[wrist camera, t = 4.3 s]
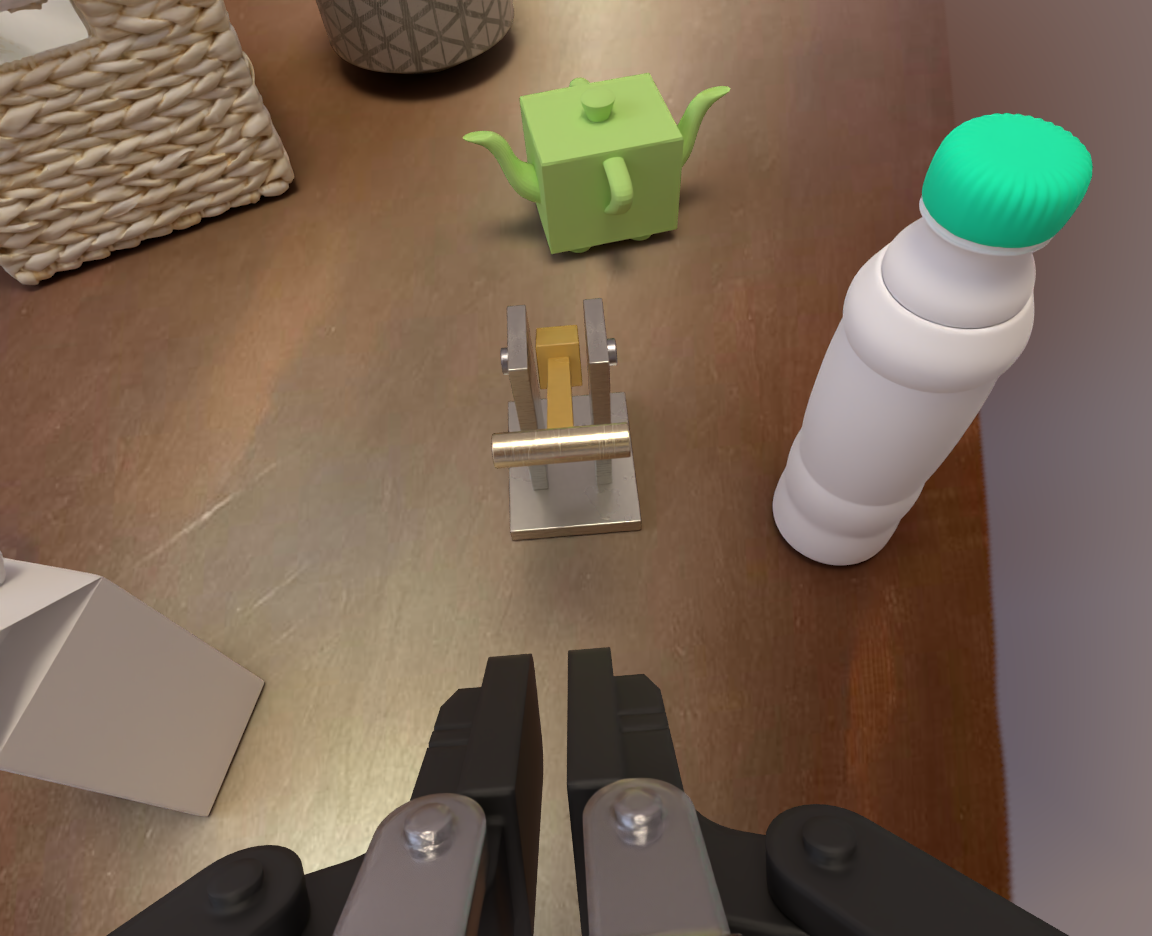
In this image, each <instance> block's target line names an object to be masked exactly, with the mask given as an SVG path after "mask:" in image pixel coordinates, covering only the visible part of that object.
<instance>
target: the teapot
mask: <svg viewBox="0 0 1152 936" xmlns="http://www.w3.org/2000/svg"><path fill="white" fill-rule="evenodd" d="M729 91H730V88H729V87H726V86H719V87H713V88H709V89H707V90H704V91H702V92H700V93H699V94H698V95H697V96H696V97H695V98H694V99H693V100H692V101H691V102H690V104H689V105H688V107H687V109H686V111H685V113H684V115H683V117H682V118H681V120H680V122H679V124H678V125H676V123H675V121H674V119H673V118H672V116H671V114H670V112H669V110H668V108H667V106H666V104H665V102H664V100H663V98H662V97H661V95H660V93H659V91H658V89H657V87H656V85H655V83H654V81H653V79H652V77H651V75H650V73H645V74H639V75H633V76H628V77H622V78H617V79H611V80H605V81H600V82H594V83H589V82H588V81H587V80H586V79H584V78H576V79H573V80H572V81H571V82H570V85H569V87H567V88H562V89H557V90H551V91H546V92H541V93H535V94H530V95H525V96H521V97H520V98H519V100H520V107H521V115H522V123H523V131H524V138H525V146H526V154H527V162H528V163H526V162H523V161H521V160H519V159H518V158H517V157H516V156H515V155H514V153H513V151H512V150H511V148H510V146H509V144H508V143H507V142H506V140H505V139H504V138H503V137H502V136H500V135H498V134H497V133H495V132H491V131H477V132H472V133H469V134H466V135H465V136H464V137H463V138H464V140H466V141H468V142H472V143H475V144H478V145H481V146H483V147H485V148H486V149H488V150H489V151H490V152H491V153H492V154H493V155H494V156H495V158H496V159H497V161H498V162H499V164H500V166H501V168H502V170H503V172H504V174H505V176H506V178H507V180H508V182H509V183H510V185H511V186H512V187H513V189H514V190H515V191H516V192H517V193H518V194H519V195H520V196H522V197H523V198H525V199H527V200H529V201H533V202H536V205H537V209H538V212H539V215H540V219H541V222H542V225H543V228H544V232H545V235H546V238H547V242H548V245H549V248H550V251H551V254H555V253H560V252H565V251H571V252H574V253H582V252H585V251H587V250H588V249H589V248H590V247H591V246H595V245H600V244H605V243H610V242H615V241H620V240H625V239H630V238H631V239H633V240H637V241H641V240H645V239H647V238H649V237H650V236H651V234H655V233H660V232H665V231H670V230H675V229H677V222H678V209H679V196H680V183H681V170H682V167H683V165H684V164H685V163H686V161H687V160H688V158H689V156H690V154H691V152H692V149H693V146H694V143H695V140H696V136H697V133H698V130H699V127H700V124H701V122H702V119H703V117H704V115H705V114H706V112H707V110H708V109H709V108H710V107H711V106H712V104H713V103H714V102H716V101H717V100H718V99H720V98H721V97H722V96H724V95H725V94H727V93H728V92H729Z"/></svg>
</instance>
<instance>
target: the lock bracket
mask: <svg viewBox="0 0 1152 936" xmlns="http://www.w3.org/2000/svg"><path fill="white" fill-rule="evenodd" d="M583 308H584V323H585V339H586V354H587V370H588V385H589V395H582V396H572V401H573V416H574V426H585V425H596V424H608V423H620V422H627V423H628V425H629V421H628V413H627V405H626V398H625V392H617V393H610V366H611V365H617V351H616V342H615V339H614V338H611V339H607V336H606V328H605V319H604V311H603V302H602V298H597V299H585V300H583ZM501 365H502V371H503V374H504V375H507V374H509V378H510V383H511V388H512V393H513V397H514V401H512V402H508V432H514V431H526V430H538V429H547V399H541V398H540V392H539V386H538V380H537V373H536V367H535V361H534V355H533V348H532V342H531V336H530V330H529V323H528V317H527V311H526V306H525V305H518V306H508V307H507V348H501ZM629 431H630V429H629ZM630 441H631V436H630ZM509 501H510V533H511V537H512V540H524V539H536V538H548V537H560V536H572V535H584V534H596V533H608V532H620V531H632V530H640V529H641V514H640V506H639V499H638V491H637V483H636V475H635V468H634V460H633V452H632V444H631V456H630V457H629V458H617V459H605V460H594V461H582V462H570V463H558V464H546V465H534V466H523V467H511V468H509Z"/></svg>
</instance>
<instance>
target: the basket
mask: <svg viewBox="0 0 1152 936" xmlns="http://www.w3.org/2000/svg"><path fill="white" fill-rule="evenodd" d="M250 69H251V75H252V78H251V75H250ZM262 102H263V99H262V96H261V95H260V94H259V91H258V89H257V87H256V85H255V72H254V68H253V65H252V63H251V61H250V59H249V58H248V56H247V54H245V53H244V52H243V51H242V48H241V45H240V42H239V39H238V36H237V34H236V31H235V29H234V27H233V26H232V25H231V24H230V22H229V15H228V12H227V11H226V8H225V4H224V1H223V0H0V265H1V266H2V267H3V268H4V270H5V271H6V272H7V273H8V274H10V275H11V276H12V277H13V278H15V279H17V280H18V281H19V282H20V283H22V284H24V285H37V284H39V281H40V280H44V279H48V278H50V277H52V276H53V275H54V273H55V272H58V271H66V270H71V269H76V268H78V267H80V266H81V265H82V262H84V261H91V260H97V259H103V258H106V257H108V256H110V254H111V253H110V251H114V250H121V249H125V248H133V247H136V246H138V245H139V244H140V242H141V240H145V239H148V238H154V237H160V236H164V235H167V234H170V233H172V231H173V229H177V230H181V229H186V228H188V227H190V226H192V225H195V224H198V223H199V222H200V221H201V217H203V218H204V217H213V216H217V215H220V214H222V213H224V212H225V211H227V210H229V208H230V207H238V206H241V205H247V204H249V203H256V202H257V201H258V200H260V195H264V196H265V197H266V196H278V195H281V194H282V193H284V192H285V191H286V190H287V189H288V188H289V183H291V182H292V180H293V179H294V178H295V176H294V172H293V170H292V168H291V165H290V160H289V157H288V155H287V152H286V150H285V149H284V147H283V144H282V141H281V139H280V137H279V135H278V133H277V131H276V130H275V128H274V125H273V123H272V121H271V116H270V114H269V112H268V110H267V108H266V107H265V106H264V104H263V103H262Z"/></svg>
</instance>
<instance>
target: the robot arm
mask: <svg viewBox="0 0 1152 936" xmlns="http://www.w3.org/2000/svg"><path fill="white" fill-rule="evenodd" d="M542 786H543V747H542V735H541V725H540V716H539V707H538V697H537V688H536V679H535V670H534V662H533V657H532V654H521V655H508V656H496V657H489V658H488V661H487V666H486V670H485V674H484V678H483V683H482V687H477V688H465V689H458V690H457V691H456V692H455V693H454V694H453V695H452V696H451V697H450V698H449V699H448V700H447V701H446V702H445V703H444V704H443V705H442V706H441V708H440V711H439V714H438V717H437V720H436V723H435V726H434V731H433V732H432V735H431V738H430V741H429V748H427V751H426V754H425V757H424V760H423V763H422V766H421V769H420V772H419V775H418V778H417V781H416V784H415V787H414V790H413V793H412V796H411V799H410V801H409V802H407V803H405V804H403V805H401V806H400V807H398V808H396V809H395V810H394V811H393V812H391V813H390V814H389V815H388V816H387V817H386V818H385V819H384V820H383V821H382V822H381V823H380V825H379V826H378V828H377V829H376V831H375V833H374V835H373V838H372V840H371V843H370V845H369V848H368V850H367V852H366V853H365V854H363V855H361V856H359V857H356V858H354V859H351V860H349V861H346V862H343V863H340V864H337V865H334V866H331V867H328V868H324V869H321V870H318V871H315V872H312V873H309V874H306V875H304V871H303V867H302V863H301V860H300V858H299V857H298V855H297V854H296V853H295V852H293V851H292V850H290V849H288V848H286V847H281V846H275V845H264V846H256V847H251V848H247V849H243V850H240V851H237V852H234V853H232V854H230V855H227V856H225V857H223V858H221V859H219V860H217V861H216V862H214V863H212V864H211V865H209V866H207V867H206V868H204V869H203V870H202V871H200V872H199V873H197V874H196V875H194V876H193V877H191V878H190V879H188V880H187V881H185V882H184V883H183V884H181V885H180V886H178V887H177V888H175V889H174V890H172V891H171V892H169V893H168V894H167V895H165V896H164V897H162V898H161V899H159V900H158V901H156V902H155V903H153V904H152V905H150V906H149V907H148V908H146V909H145V910H143V911H142V912H140V913H139V914H137V915H136V916H134V917H133V918H131V919H130V920H129V921H127V922H126V923H124V924H123V925H121V926H120V927H118V928H117V929H115V930H114V931H112V932H111V933H110V934H108V935H107V936H533V934H534V917H535V901H536V885H537V868H538V852H539V835H540V819H541V802H542ZM567 792H568V802H569V811H570V821H571V831H572V841H573V851H574V861H575V871H576V881H577V891H578V901H579V911H580V921H581V931H582V936H1068V935H1067V934H1065V933H1063V932H1061V931H1060V930H1058V929H1056V928H1055V927H1053V926H1051V925H1049V924H1048V923H1046V922H1044V921H1043V920H1041V919H1039V918H1037V917H1036V916H1034V915H1032V914H1031V913H1029V912H1027V911H1025V910H1024V909H1022V908H1020V907H1018V906H1017V905H1015V904H1013V903H1012V902H1010V901H1008V900H1006V899H1005V898H1003V897H1001V896H1000V895H998V894H996V893H994V892H993V891H991V890H989V889H987V888H986V887H984V886H982V885H981V884H979V883H977V882H975V881H974V880H972V879H970V878H969V877H967V876H965V875H963V874H962V873H960V872H958V871H956V870H955V869H953V868H951V867H950V866H948V865H946V864H944V863H943V862H941V861H939V860H937V859H936V858H934V857H932V856H931V855H929V854H927V853H925V852H924V851H922V850H920V849H919V848H917V847H915V846H913V845H912V844H910V843H908V842H906V841H905V840H903V839H901V838H900V837H898V836H896V835H894V834H893V833H891V832H889V831H888V830H886V829H884V828H882V827H881V826H879V825H877V824H875V823H874V822H872V821H870V820H869V819H867V818H865V817H863V816H861V815H859V814H857V813H855V812H852V811H850V810H847V809H844V808H840V807H836V806H830V805H819V804H812V805H802V806H798V807H794V808H791V809H788V810H786V811H784V812H783V813H781V814H779V815H778V816H777V817H776V818H775V819H773V821H772V822H771V824H770V825H769V827H768V829H767V832H766V835H761V834H755V833H749V832H743V831H738V830H734V829H730V828H727V827H724V826H721V825H719V824H717V823H714V822H712V821H710V820H709V819H707V818H706V817H704V816H702V815H701V814H700V813H699V812H698V811H696V810H695V808H694V805H693V803H692V801H691V800H690V798H689V797H688V796H687V795H686V794H685V793H684V790H683V785H682V781H681V777H680V772H679V768H678V764H677V760H676V755H675V751H674V747H673V742H672V738H671V734H670V729H669V726H668V721H667V716H666V712H665V708H664V704H663V699H662V695H661V691H660V689H659V688H658V687H657V686H656V685H655V684H654V683H653V682H652V681H651V680H650V679H649V678H648V677H647V676H646V675H644V674H638V675H625V676H613V668H612V659H611V651H610V647H606V648H594V649H582V650H569V651H568V720H567Z"/></svg>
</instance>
